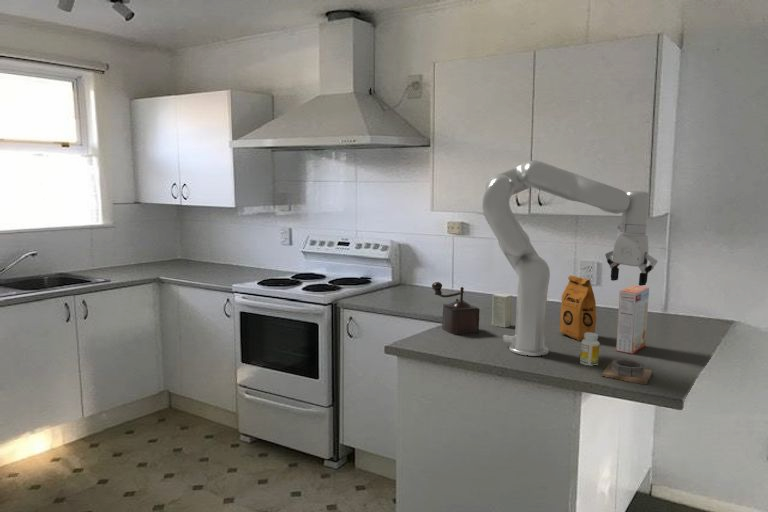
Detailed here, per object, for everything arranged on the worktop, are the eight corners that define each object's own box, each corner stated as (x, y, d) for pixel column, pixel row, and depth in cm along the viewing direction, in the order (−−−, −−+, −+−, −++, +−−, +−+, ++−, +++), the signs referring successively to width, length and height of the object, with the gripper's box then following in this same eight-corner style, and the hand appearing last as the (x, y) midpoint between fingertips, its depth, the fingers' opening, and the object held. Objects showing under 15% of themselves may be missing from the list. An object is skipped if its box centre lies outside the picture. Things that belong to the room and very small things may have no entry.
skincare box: (510, 326, 239) (512, 295, 237) (504, 328, 236) (506, 296, 234) (497, 323, 243) (498, 292, 241) (490, 325, 240) (492, 294, 238)
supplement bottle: (579, 365, 190) (582, 335, 189) (579, 360, 195) (581, 331, 194) (598, 367, 189) (600, 336, 187) (597, 362, 194) (599, 332, 192)
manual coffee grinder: (464, 326, 237) (467, 279, 234) (479, 333, 226) (481, 285, 224) (428, 328, 231) (430, 281, 229) (441, 336, 221) (443, 286, 219)
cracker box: (628, 343, 218) (632, 284, 216) (645, 346, 215) (650, 287, 212) (614, 351, 208) (619, 289, 205) (632, 354, 204) (637, 292, 201)
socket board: (601, 376, 179) (602, 365, 179) (609, 366, 190) (610, 355, 189) (646, 384, 174) (647, 372, 173) (651, 373, 184) (652, 362, 183)
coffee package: (575, 342, 217) (579, 280, 215) (555, 333, 229) (559, 275, 226) (599, 340, 220) (603, 280, 218) (578, 332, 232) (582, 274, 229)
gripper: (602, 227, 201) (597, 279, 204) (653, 232, 188) (647, 288, 190) (615, 227, 206) (610, 277, 208) (665, 232, 193) (659, 286, 195)
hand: (628, 282), depth 199 cm, fingers open, 9 cm apart
